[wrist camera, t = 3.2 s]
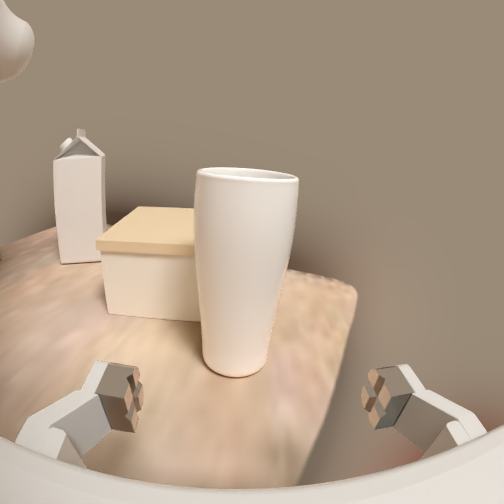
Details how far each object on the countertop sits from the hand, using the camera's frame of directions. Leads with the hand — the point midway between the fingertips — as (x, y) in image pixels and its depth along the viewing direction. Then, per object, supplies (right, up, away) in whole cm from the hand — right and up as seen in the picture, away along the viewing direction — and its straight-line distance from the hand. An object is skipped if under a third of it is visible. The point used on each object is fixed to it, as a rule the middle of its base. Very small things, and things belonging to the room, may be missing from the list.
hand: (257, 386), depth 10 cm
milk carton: (-26, +4, +32) cm, 42 cm away
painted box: (-8, 0, +26) cm, 27 cm away
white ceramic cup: (-2, -5, +15) cm, 16 cm away
